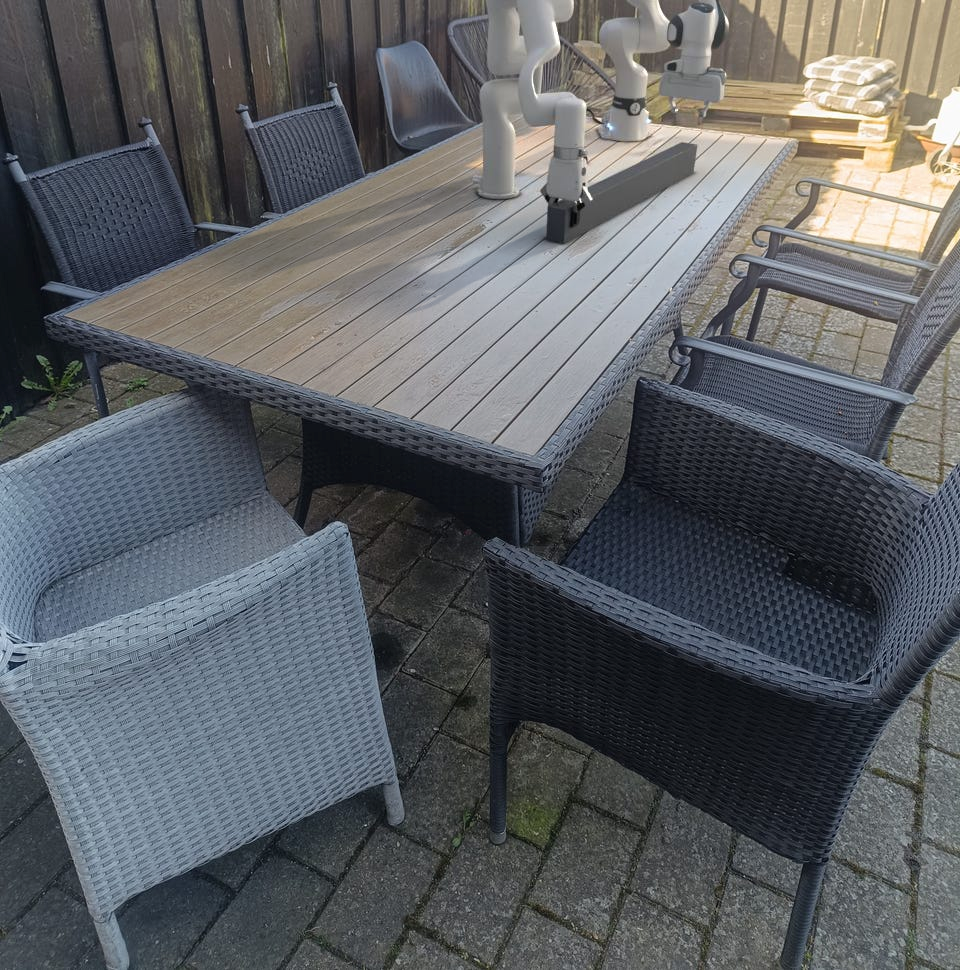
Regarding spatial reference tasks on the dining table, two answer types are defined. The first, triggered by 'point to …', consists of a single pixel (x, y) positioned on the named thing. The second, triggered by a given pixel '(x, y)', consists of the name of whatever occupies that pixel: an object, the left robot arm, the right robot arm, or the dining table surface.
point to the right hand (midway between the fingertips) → (688, 114)
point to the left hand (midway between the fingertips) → (564, 223)
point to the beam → (622, 191)
